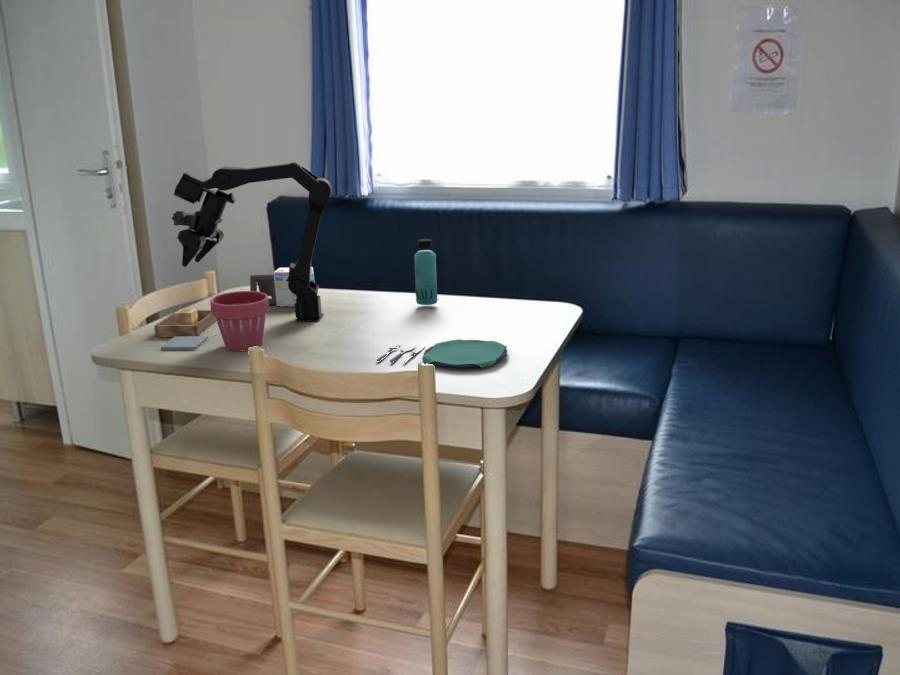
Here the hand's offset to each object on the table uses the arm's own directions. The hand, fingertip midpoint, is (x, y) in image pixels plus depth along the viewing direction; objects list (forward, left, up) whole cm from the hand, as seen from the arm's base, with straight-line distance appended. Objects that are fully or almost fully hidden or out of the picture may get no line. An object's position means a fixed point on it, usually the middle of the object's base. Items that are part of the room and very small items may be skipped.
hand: (190, 263), depth 223 cm
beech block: (+2, +3, -17) cm, 18 cm away
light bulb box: (-22, -22, -18) cm, 36 cm away
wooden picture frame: (+2, +3, -17) cm, 18 cm away
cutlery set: (-71, +27, -18) cm, 78 cm away
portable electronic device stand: (-12, -24, -18) cm, 32 cm away
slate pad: (-3, +17, -17) cm, 25 cm away
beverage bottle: (-62, -17, -18) cm, 67 cm away
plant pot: (-19, +19, -18) cm, 32 cm away
